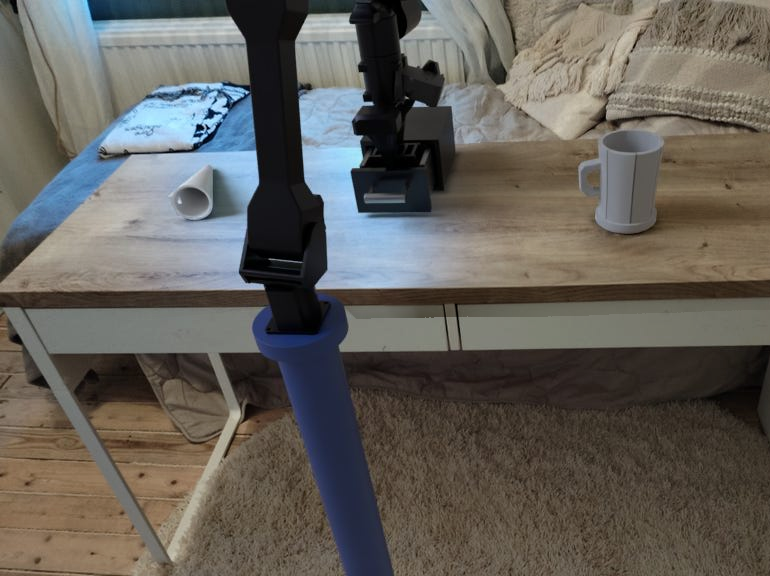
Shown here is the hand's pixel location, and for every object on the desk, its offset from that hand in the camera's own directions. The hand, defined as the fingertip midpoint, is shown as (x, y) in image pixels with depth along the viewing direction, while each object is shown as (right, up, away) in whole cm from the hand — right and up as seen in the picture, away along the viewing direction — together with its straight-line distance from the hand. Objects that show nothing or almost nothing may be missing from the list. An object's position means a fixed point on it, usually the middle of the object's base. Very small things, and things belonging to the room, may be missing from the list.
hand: (395, 158), depth 108 cm
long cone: (-33, -3, +12) cm, 35 cm away
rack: (0, -1, +1) cm, 1 cm away
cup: (+33, -11, -5) cm, 36 cm away
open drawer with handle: (0, -5, +3) cm, 6 cm away
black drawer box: (+2, +1, +13) cm, 13 cm away
